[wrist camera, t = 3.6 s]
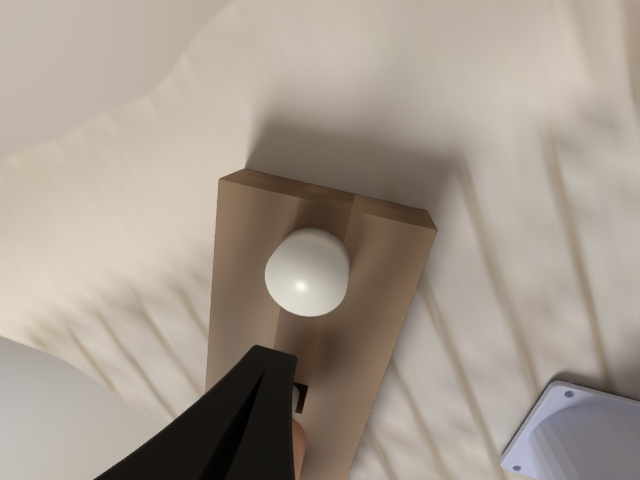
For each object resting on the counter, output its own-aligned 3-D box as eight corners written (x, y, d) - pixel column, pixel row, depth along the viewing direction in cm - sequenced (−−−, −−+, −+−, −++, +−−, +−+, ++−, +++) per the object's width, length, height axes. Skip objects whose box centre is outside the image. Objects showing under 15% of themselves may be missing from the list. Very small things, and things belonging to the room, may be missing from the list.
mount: (427, 210, 16) (437, 230, 14) (332, 485, 26) (327, 529, 23) (244, 168, 17) (218, 178, 14) (217, 449, 26) (199, 488, 24)
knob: (360, 219, 17) (356, 253, 13) (345, 277, 18) (337, 325, 14) (295, 204, 17) (270, 233, 13) (286, 262, 18) (260, 304, 14)
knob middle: (321, 378, 18) (305, 457, 14) (310, 420, 19) (292, 503, 15) (261, 361, 18) (227, 434, 14) (254, 404, 20) (222, 481, 15)
